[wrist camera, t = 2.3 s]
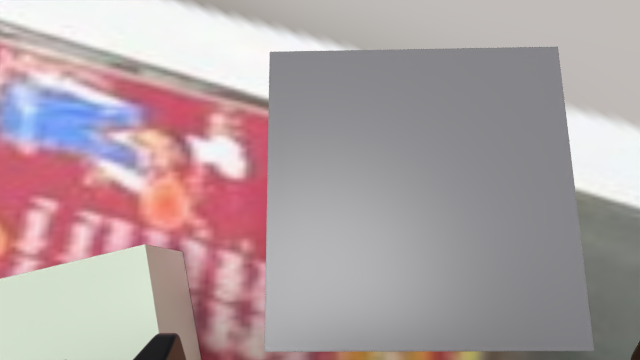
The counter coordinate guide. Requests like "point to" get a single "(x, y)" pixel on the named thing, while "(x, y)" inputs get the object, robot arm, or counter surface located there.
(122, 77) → the counter surface
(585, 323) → the white plug block
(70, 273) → the sage block
